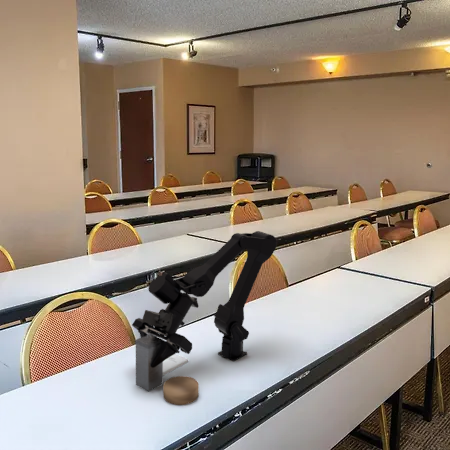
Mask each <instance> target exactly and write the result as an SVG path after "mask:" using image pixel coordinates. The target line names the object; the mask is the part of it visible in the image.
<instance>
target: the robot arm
mask: <svg viewBox="0 0 450 450" xmlns="http://www.w3.org/2000/svg"><path fill="white" fill-rule="evenodd" d="M277 247H278V242H277V239H276V237H275V236H274V235H273V234H270V233H266V232H263V231H259V230H257V231H254V232H252V233H251V232H249V233H248V232H244V233H243V232H242V233H239V232H236V233H234V234H232V235H231V236H230V238H229V240H228V241H226V243H225V244H224V245H223V246H221V247H220V248H219V249H218V250H217V251H216V252H215V253H214V254H213V255H212V256H211V257H210V258H209V259H208V260H207V261H206V262H204V263H203V264H202V265H199V266H196V267H194V268H192V269H190V271H188V272H186V274H184V276H180V277H179V278H176V279H173V278H172V276H171V274H169V273H167V272H165V271H164V272H163V274H161V275H158V276H157V277H155V278H153V279H152V280H151V282H150V283H149V285H148V288H147V289H148V292H149V293H150V294H151V295H152V296H154V297H155V298H156V299H157V300H159V301H160V302H161V303H162V304H164V305H166V307H165V309H164V308H161V309H160V310H159V312H156V311H151V310H148V309H145V310H144V313H143V315H142V316H143V317H142V318H141V317H138V318H135V320H134V321H133V322H132V325H131V326H132V327H133V328H134V329H136V330H137V332H138V333H139V338H141V337H144V336H146V335H149V334H151V335H153V336H156V337H158V338H160V339H161V347H160V349H159V351H158V353H157V354H156V356H155V358H154V360H153V362H152V364H151V367H152V368H154V367H156V366H157V365H159V364H160V363H162V362H163V361H164V360H166V359H167V358H169V357H171V356H172V355H174V354H180V353H181V352H182V353H185V354H187V355H190V354H191V351H192V349H193V343H192V341H190V340H189V339H188V338H187V337H185V335H182V334H180V333H177V332H178V330H179V328H180V327H184V326H185V322H184V319H185V317H186V316H187V314H188V313H189V310H190V309H191V307H192V308H195V309H196V308H197V309H198V308H199V303H198V298H202V297H204V296H205V295H207V293H209V292H210V290H211V288H212V287H213V286H214V283H215V280H216V278H217V276H218V275H219V274H220V273H221V272H222V271H223V270H224V269H225V268H226V267H227V266H228V265H229V264H230V263H231V262H232V261H234V259H235V258H237V256H239V254H241V252H243V251H244V250H245V249H246V254H247V256H246V260H245V262H244V265H243V266H242V269H241V270H240V271H241V272H240V273H239V276H238V278H237V280H236V282H235V285H234V287H233V290H232V291H231V292H232V293H231V294H230V296H229V299H228V301H227V302H226V303H224V304H221V303H219V304H218V307H217V310H216V311H215V313H214V314H213V317H214V320H213V323H214V326H215V327H216V329H218V332H219V333H220V334H222V335H223V336H222V340H221V341H222V342H221V351H219V352H217V354H218V355H219V356H222V357H223V358H226V359H227V360H230V361H237V360H239V359H240V358H243V357H244V356H247V354H248V352H247V351H245V350H244V341H245V340H247V339H248V337H249V334H250V332H249V331H248V330H247V329H246V328H245V327H244V326H243V324H244V320H245V310H244V309H245V305H246V303H247V301H248V299H249V296H250V294H251V292H252V289H253V286H254V284H255V282H256V280H257V278H258V275H259V273H260V270H261V268H262V266H263V264H264V263H265V262H267V260H269V259H271V257H272V256H273V253H274V252H275V250H276V249H277ZM191 295H192V296H191ZM193 296H194V297H193ZM162 339H163V340H162Z"/></svg>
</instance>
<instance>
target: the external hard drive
mask: <svg viewBox="0 0 450 450" xmlns="http://www.w3.org/2000/svg"><path fill="white" fill-rule="evenodd" d="M187 363H189V358H187V357H184V356H182V355H179V354H178V353H176V354H174V355H172V356H171V357H169V358H167V359H166V360H164V361H163V377H164V376H165V375H167V374H169V373H171V372H172V371H174V370H176V369H178V368H180V367H181V366H184V365H185V364H187Z"/></svg>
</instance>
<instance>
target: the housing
mask: <svg viewBox="0 0 450 450" xmlns="http://www.w3.org/2000/svg"><path fill="white" fill-rule="evenodd" d="M162 340H164V339H162ZM160 347H161V338H159V337H157V336H153V335H151V334H149V335H146V336H144V337H139V338H137V339H135V386H137V387H138V388H140V389H143V390H144V391H146V392H151V391H153V390H154V389H156V388H159V387H160V386H163V385H164V382H163V377H164V376H163V362H162V363H160V364H159V365H157V366H156V367H154V368H152V367H151V364H152V362H153V360H154V358H155V356H156V354H157V353H158V351H159V349H160Z"/></svg>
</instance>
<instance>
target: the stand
mask: <svg viewBox="0 0 450 450" xmlns="http://www.w3.org/2000/svg"><path fill="white" fill-rule="evenodd" d="M199 385H200V384H199V382H198V380H197V379H195V378H193V377H191V376H186V375H178V376H172V377H169V378H168V379H166V380H165V381H164V382H163V385H162V386H163V387H162V388H163V393H162V395H163V399H164V401H165V402H167V403H169V404H171V405H175V406H183V405H190V404H192V403H194V402H195V401H197V400H198V398H199V391H200V390H199Z"/></svg>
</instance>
